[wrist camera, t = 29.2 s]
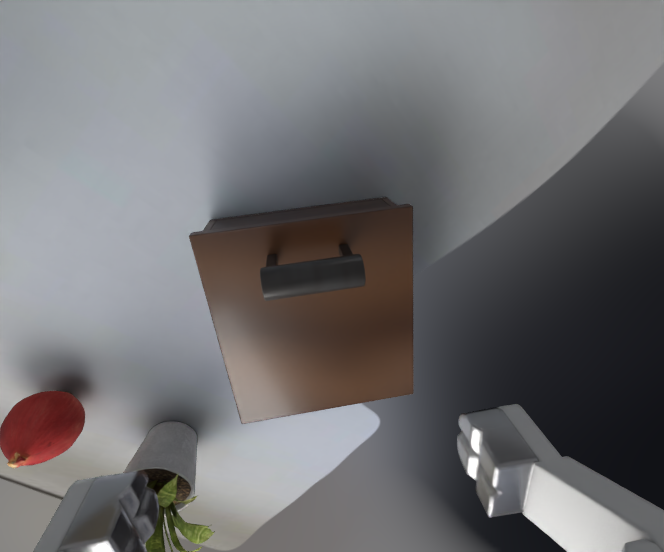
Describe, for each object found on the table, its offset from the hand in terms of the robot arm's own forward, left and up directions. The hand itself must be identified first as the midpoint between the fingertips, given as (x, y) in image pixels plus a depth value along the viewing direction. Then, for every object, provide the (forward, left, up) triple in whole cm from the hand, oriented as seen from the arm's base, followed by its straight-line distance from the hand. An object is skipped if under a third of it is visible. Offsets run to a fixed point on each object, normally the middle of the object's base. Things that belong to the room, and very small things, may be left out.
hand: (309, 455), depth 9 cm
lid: (+4, +6, -18) cm, 19 cm away
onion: (+28, -4, -24) cm, 37 cm away
